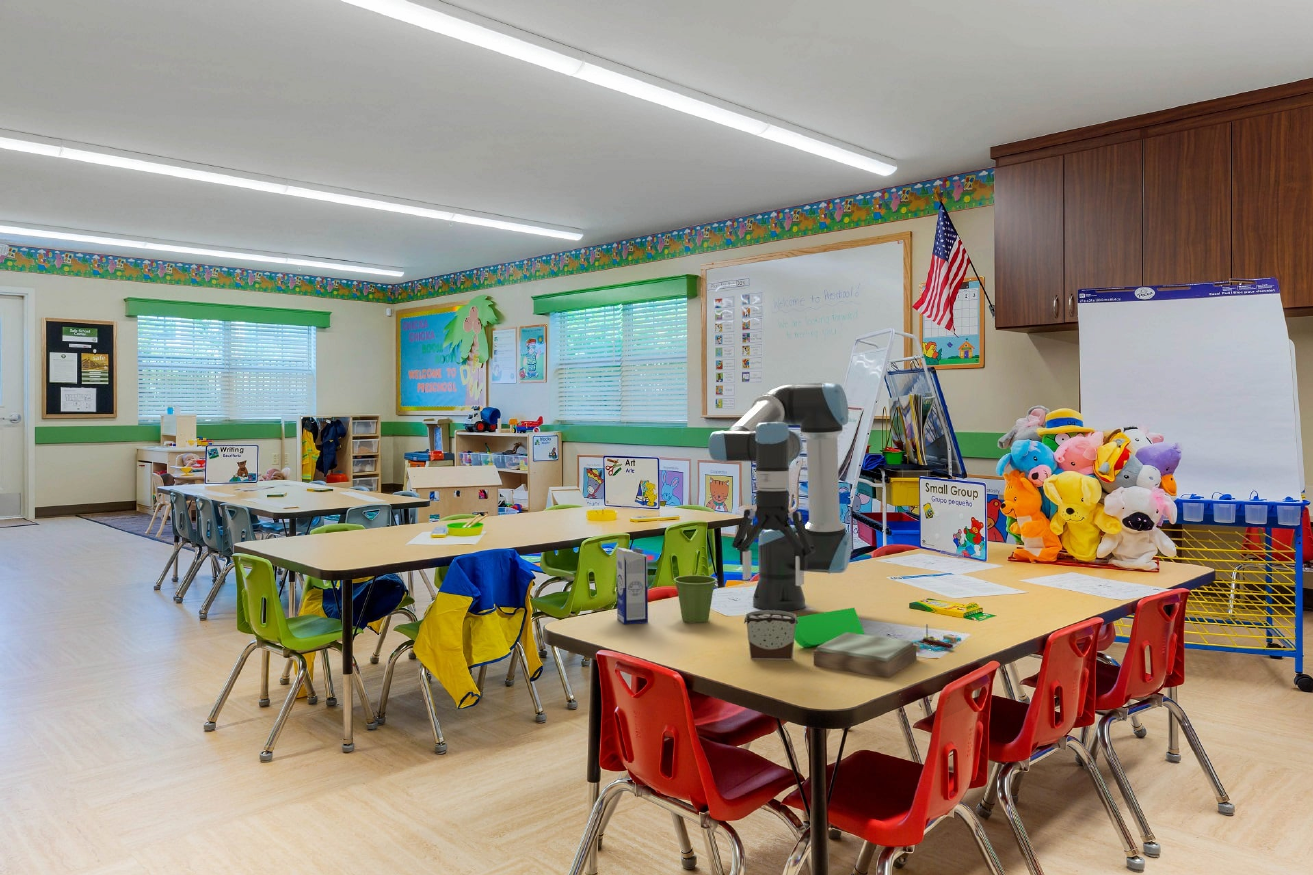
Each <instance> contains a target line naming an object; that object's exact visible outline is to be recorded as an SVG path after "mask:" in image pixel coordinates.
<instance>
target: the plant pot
mask: <svg viewBox="0 0 1313 875" xmlns="http://www.w3.org/2000/svg"><path fill="white" fill-rule="evenodd" d="M673 581H674V583H675V587H676V590H677V595H678V600H679V601H678V602H679V608H680V614H681V619H682V621H684V622H686V623H691V624H693V623H694V624H695V623H697V622H698V623H701V624H702V623H705V622H707V621H709V618H710V613H711V607H712V599H713V593H714V590H715V585H716V582H717V581H718V579H717V578H716V577H713V576H708V575H701V574H700V575H699V574H697V575H695V574H692V575H691V574H690V575H683V576H682V575H681V576H677V577H674V578H673Z"/></svg>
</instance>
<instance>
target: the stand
mask: <svg viewBox="0 0 1313 875" xmlns="http://www.w3.org/2000/svg"><path fill="white" fill-rule="evenodd" d="M916 660H917V652H916V645H913V642H911V641H910V640H902V639H897V638H889V637H883V636H882V637H881V636H874V635H868V634H865V635H862V634H855V633H848V632H846V633H844V634H842V635H840V636H838V637H836V638H834V639H832V640H830V641H828V642H826V643H824V644H822V645H818V646H816V649H815V650H813V665H814V666H816V667H823V668H829V669H834V670H840V671H845V672H851V673H857V674H863V675H869V676H875V677H881V678H884V679H885V678H887V679H889V678H890V677H892V676H893V675H895V674H896V673H898V672H899V671H901V670H903V669H904V668H906V667H907V666H908V665H911V664H912V663H913V662H915V661H916Z"/></svg>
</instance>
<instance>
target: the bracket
mask: <svg viewBox="0 0 1313 875" xmlns="http://www.w3.org/2000/svg"><path fill="white" fill-rule="evenodd" d="M796 618H797V619H798V624H799V625H798V624H797V623H796V627H795V637H794V641H796V643H797V644H798V645H799V646H800V647H802V648H811V647H812V648H813V647H818V646H820V645H822V644H824V643H826V642H828V641H830V640H832V639H834V638H836V637H838V636H840V635H842V634H844V633H846V632H848V633H855V634H862V635H866V634H865V632H864V628H863V626H862V623H861V621H860V619H859V618H860V617H859V616H858V614H857V610H856V609H855V607H849V608H844V609H838V610H832V611H825V612H821V613H814V614H809V615H808V614H807V615H802V616H801V615H800V616H796Z"/></svg>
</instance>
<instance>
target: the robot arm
mask: <svg viewBox="0 0 1313 875" xmlns="http://www.w3.org/2000/svg"><path fill="white" fill-rule="evenodd" d="M848 404H849V403H848V399H847V396H846V392H845V390H844V388H843V387H842V385H840V384H838V383H834V382H832V383H831V382H819V383H818V382H817V383H816V382H813V383H787V384H782V385H779V386H776V387H774V388H772V389H769V390H768V391H766V392H764V393H763V394H760V396H758V397H757V398H756V399H754V401H753V403H752V405H751V408H750V409H749V410H748V411H747V412H746V413H745V414H744V415H743V416H742V417H740V418H739V419H738V421H736V423H734V424H733V425H732V426H731V427H730V428H729V429H728V430H722V429H721V430H717V431H713V432H711V434H710V436H709V438H708V453H709V456H710V458H711V459H712V460H713V461H715V462H724V463H727V462H729V463H730V462H734V463H735V462H741V463H743V462H745V463H746V462H755V486H756V488H757V489H756V492H755V505H756V510H755V509H753V508H747V509H744V510H743V518H742V521H741V523H740V525H739V528H738V530H737V532H736V535H735V537H734V539H733V541H732V543H731V547H732V548H733V549H737V550H738V551H739V564H740V565H742V580H743V581H746V580H749V579H752V550H750V547H751V546H752V544H753V543H754V542H755V541H756V540H757V539H758V545H757V546H758V580H757V585H756V587H755V589H754V593H753V595H752V596H753V597H752V605H753V607H755V608H757V609H760V610H778V611H786V612H789V611H796V610H801V609H803V608H805V607H806V598H805V594H804V592H803V589H802V585H805V572H807V573H808V572H809V573H823V574H824V573H825V574H843V573H844V572H845V571H846V570H847V569H848V566H849V563H850V560H851V555H852V546H853V535H852V533H850V532H849V531H846V530H847V529H846V524H844V523H843V522H842V521H841V518H840V517H841V516H840V514H841V513H840V486H839V480H840V479H839V454H838V453H839V452H838V450H839V449H838V448H839V447H838V437H839V435H840V434H841V433H842V432H843V430H844V429H843V426H846V425H847V424H848V422H849V405H848ZM789 426H800V433H801V434H802V435H803V436H804V437H805V439H806V440H805V442H806V465H807V466H806V468H807V492H808V494H807V495H808V500H807V501H808V521H807V522H806V523H804V520H803V512H802V511H794V512H790V510H789V507H790V492H789V490H788V488H789V487H790V474H789V473H790V471H789V470H790V469H789V468H790V464H789V463H791V462H794V460H796V459H798V458H799V456H800V455H801V453H802V451H803V448H804V446H803V441H802V439H801V436H800V435H799V434H797V432H795V431H791V430H790V429H789ZM755 518H756V519H757V522H756V524H755V525H754V526H753V528H752V529H751V531H750V532H749V534H748V535H747V533H748V531H749V529H750V526H751V525H752V522H753V519H755ZM789 520H791V522H792V523H793V524H790V523H789V522H788V521H789ZM746 535H747V536H746Z"/></svg>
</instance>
